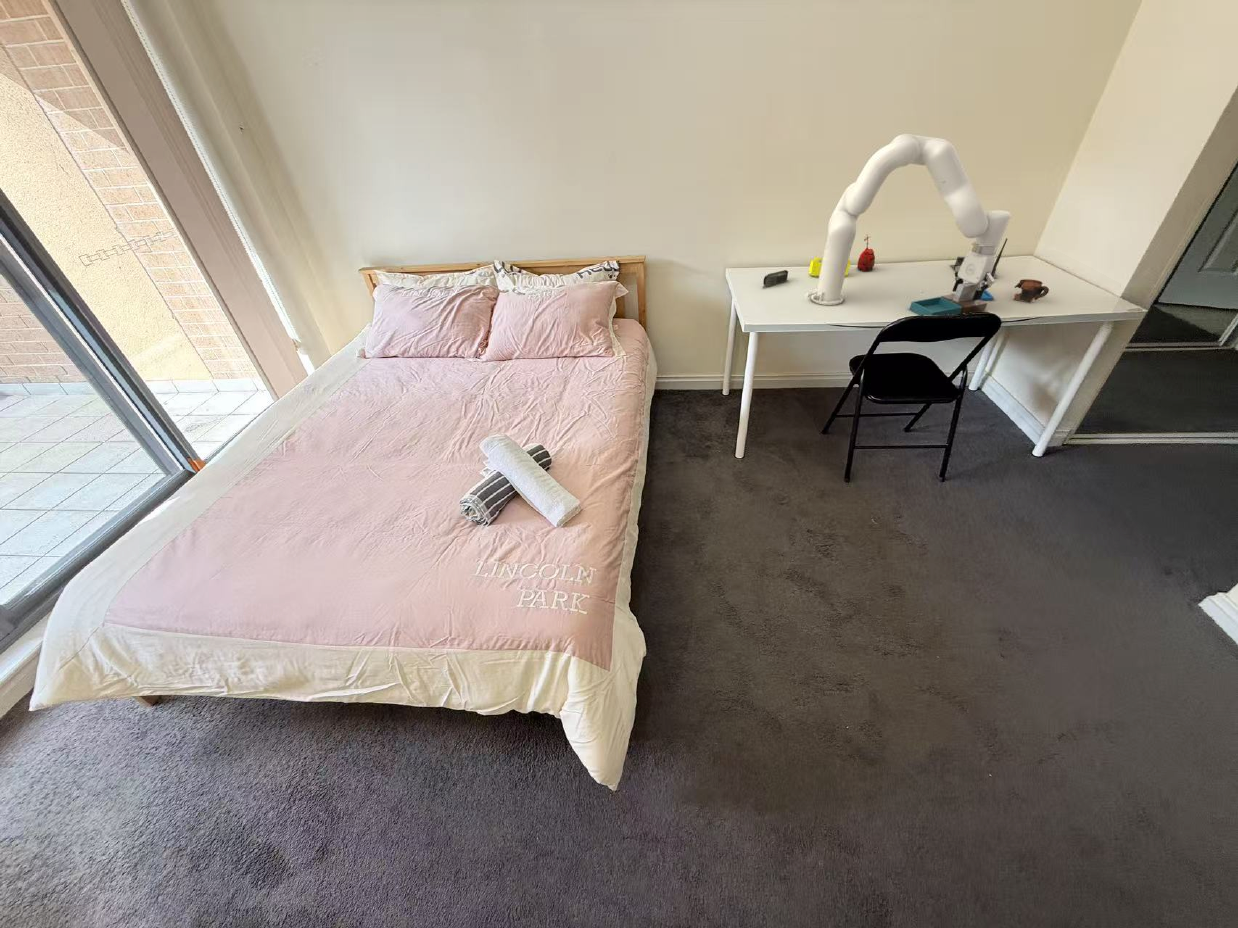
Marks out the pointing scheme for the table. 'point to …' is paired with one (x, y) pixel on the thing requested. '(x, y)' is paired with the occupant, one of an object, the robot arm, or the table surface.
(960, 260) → the wireless controller
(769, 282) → the mobile phone
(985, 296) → the handheld gaming device
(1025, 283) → the pottery mug
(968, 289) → the white block
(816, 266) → the yellow toy chassis
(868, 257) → the red clay folk toy
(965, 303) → the panel
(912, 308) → the basin
